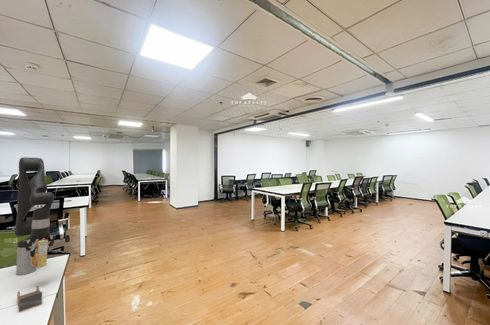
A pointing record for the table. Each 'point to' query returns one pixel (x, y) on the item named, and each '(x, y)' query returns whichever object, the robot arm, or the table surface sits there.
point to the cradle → (29, 299)
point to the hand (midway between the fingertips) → (39, 255)
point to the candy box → (40, 254)
